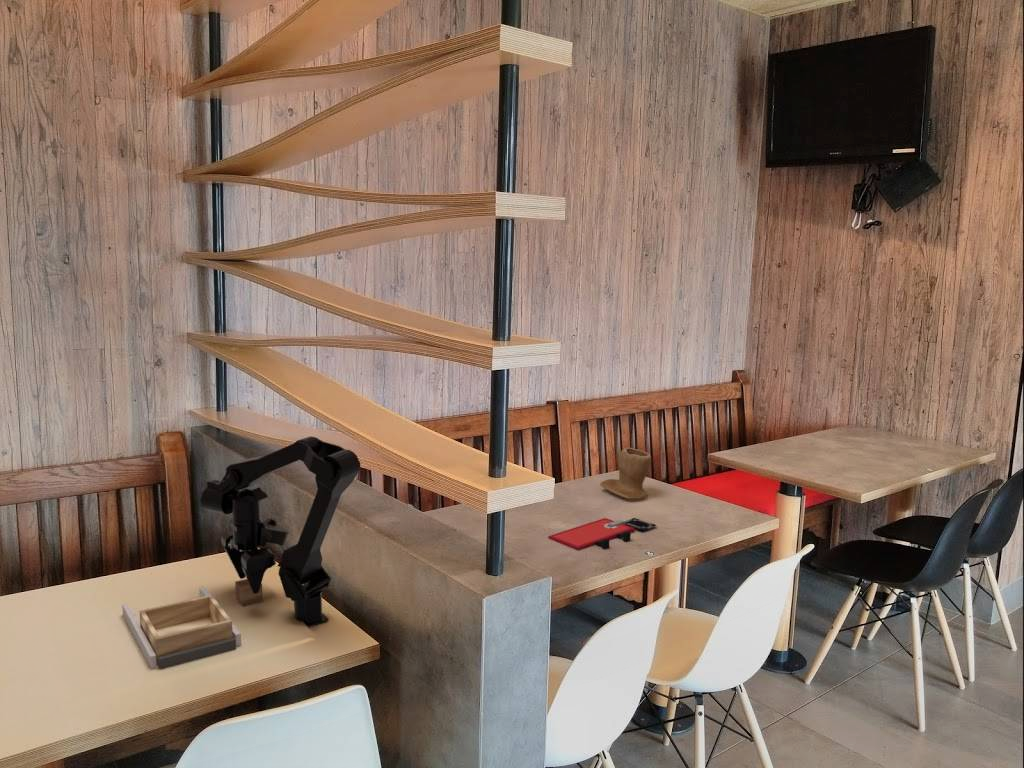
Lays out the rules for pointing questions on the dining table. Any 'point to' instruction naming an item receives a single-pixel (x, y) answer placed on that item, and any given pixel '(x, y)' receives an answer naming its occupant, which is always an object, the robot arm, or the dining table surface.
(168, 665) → the bay
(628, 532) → the red board with handle
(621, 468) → the brown boot
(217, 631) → the crate
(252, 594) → the block
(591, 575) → the dining table surface
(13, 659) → the dining table surface
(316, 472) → the robot arm
